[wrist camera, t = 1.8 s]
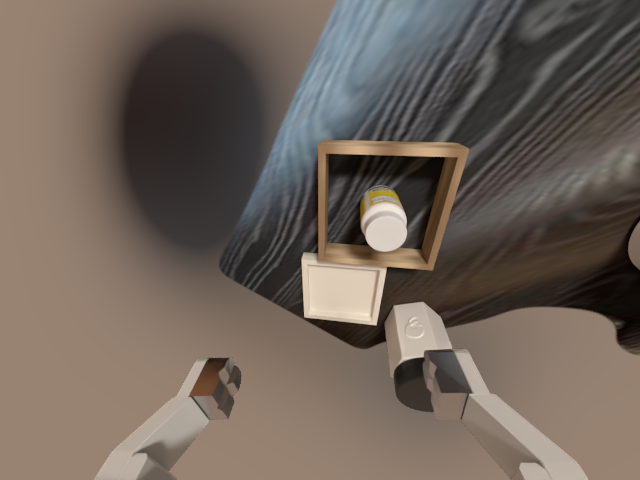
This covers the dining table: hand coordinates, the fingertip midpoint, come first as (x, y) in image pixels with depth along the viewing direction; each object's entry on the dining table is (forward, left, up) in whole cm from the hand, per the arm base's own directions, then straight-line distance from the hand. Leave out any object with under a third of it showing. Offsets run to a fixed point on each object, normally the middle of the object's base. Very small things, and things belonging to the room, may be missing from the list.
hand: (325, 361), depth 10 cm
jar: (-12, +22, -24) cm, 34 cm away
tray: (0, +16, -23) cm, 28 cm away
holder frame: (-4, +2, -23) cm, 24 cm away
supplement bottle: (-4, +2, -24) cm, 24 cm away
